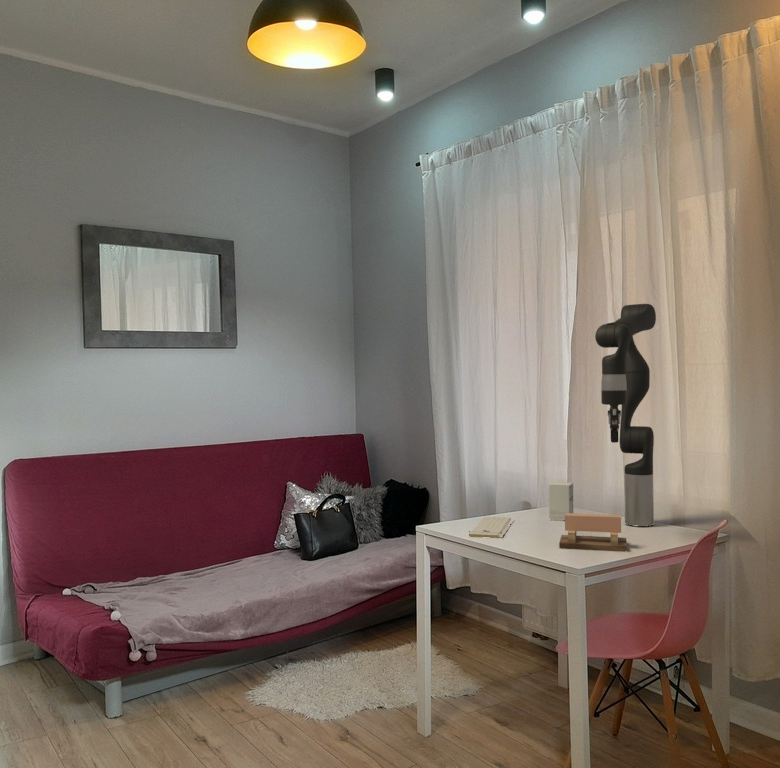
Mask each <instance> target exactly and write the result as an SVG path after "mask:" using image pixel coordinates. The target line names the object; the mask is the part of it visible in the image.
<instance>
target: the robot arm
mask: <svg viewBox="0 0 780 768" xmlns="http://www.w3.org/2000/svg"><path fill="white" fill-rule="evenodd" d="M656 321H657V315H656V310H655V307H654V306H653V305H652V304H650V303H636V304H635V303H633V304H626V305H624V306H623V307H622V308H621V310H620V318H618V319H616V320H615V321H613V322H608V323H605V324H604V323H603V324H601V325H600V326H599V327H598V328H597V330H596V331H595V334H594V335H595V336H594V337H595V342H596V344H597V345H598V346H599V347H601V348H605V349H606V348H617V349H616V351H615V353H613V354H608V355H605V356H603V357H602V358H601V380H600V381H601V382H600V383H601V385H600V386H601V388H600V389H601V390H600V391H601V400H600V401H601V404H602V405H606V406H607V405H609V409H608V410H607V419H608V425H609V429H610V442H611V443H614V444H615V443H619V448H620V451H621V452H622V453H623V454H636V455H637V454H641V455H642V457H641V458H640V459H638V460H637V461H634V462H631V463H628V464H626V465H624V469H623V470H624V523H626V524H629V525H628V526H630V525H638V526H647V525H652V524H653V523H654V520H655V519H654V518H655V517H654V515H655V513H654V510H655V509H654V507H655V505H654V445H655V443H654V442H655V441H654V440H655V436H654V430H653V428H652V427H650V426H638V425H637V426H635V425H633V426H632V425H631V423H632V419H633V416H634V414H635V413H636V410H637V409H638V407H639V405H640V403H641V402H642V401H643V400H644V398H645V396H646V395H647V394H648V391H649V389H650V377H651V375H650V374H651V371H650V367H649V364H648V363H647V361H646V360H645V357H643V355H642V354H641V352H640V350H639V349H638V348H637V346H636V344H635V343H636V342H635V341H634V335H637V334H638V333H641V332H644V331H648V330H652V329H653V328H654V327H655V325H656ZM619 405H621V410H620V409H619ZM626 524H625V525H626Z"/></svg>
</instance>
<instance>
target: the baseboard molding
mask: <svg viewBox="0 0 780 768" xmlns="http://www.w3.org/2000/svg"><path fill="white" fill-rule="evenodd" d="M484 517H485V518H484ZM484 517H483V518H482V519H481V520H480V521H479V522H478V524H477V525H476V526H475V527H473V528H472V530H469V531H468V532H469V533H468V537H469V536H470V537H469V538H483V537H490V538H489V539H503V538H504V539H505V538H506V537H507V536H506V534H507V532H508V531H509V529H510V528H509V527H511V526H510V525H509V526H508V524H509V523H510V521H511V519H512V518H511V517H509V516H508V517H500V516H498V517H496V516H484ZM508 528H509V529H508ZM507 530H508V531H507ZM506 531H507V532H506ZM505 533H506V534H505Z"/></svg>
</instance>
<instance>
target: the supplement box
mask: <svg viewBox="0 0 780 768" xmlns="http://www.w3.org/2000/svg"><path fill="white" fill-rule="evenodd" d="M565 513H574V483H573V482H563V481H562V482H561V481H559V482H558V481H557V482H555V481H553V482H552V483H550V484H548V519H553V520H552V521H559V520H565Z"/></svg>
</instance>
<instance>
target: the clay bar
mask: <svg viewBox="0 0 780 768" xmlns="http://www.w3.org/2000/svg"><path fill="white" fill-rule="evenodd" d="M564 531H576V532H591V533H592V532H593V533H595V532H596V533H610V532H613V533H618V534H621V533H622V515H621V514H604V513H602V514H601V513H575V512H573V513H565V521H564Z"/></svg>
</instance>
